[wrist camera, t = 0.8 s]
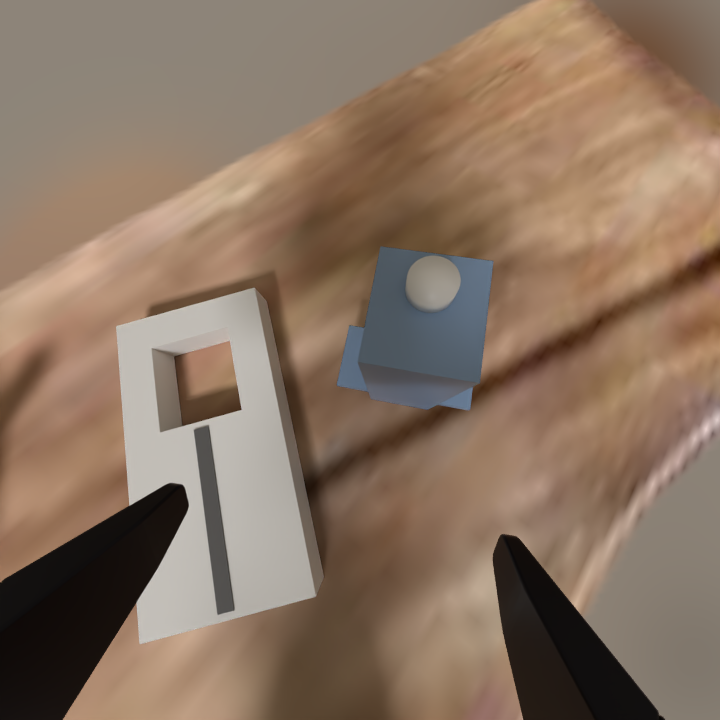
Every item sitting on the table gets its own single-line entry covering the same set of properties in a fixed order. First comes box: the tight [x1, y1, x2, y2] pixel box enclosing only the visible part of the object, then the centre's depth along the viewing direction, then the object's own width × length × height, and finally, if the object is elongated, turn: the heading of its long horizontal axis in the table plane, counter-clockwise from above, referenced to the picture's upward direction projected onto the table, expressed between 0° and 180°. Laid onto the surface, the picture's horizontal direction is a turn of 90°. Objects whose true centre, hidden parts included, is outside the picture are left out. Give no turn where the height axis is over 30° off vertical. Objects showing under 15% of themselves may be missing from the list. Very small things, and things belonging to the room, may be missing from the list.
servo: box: [337, 247, 493, 410], centre depth 17 cm, size 5×9×13 cm, turn 79°
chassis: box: [116, 287, 324, 644], centre depth 22 cm, size 21×11×3 cm, turn 15°
